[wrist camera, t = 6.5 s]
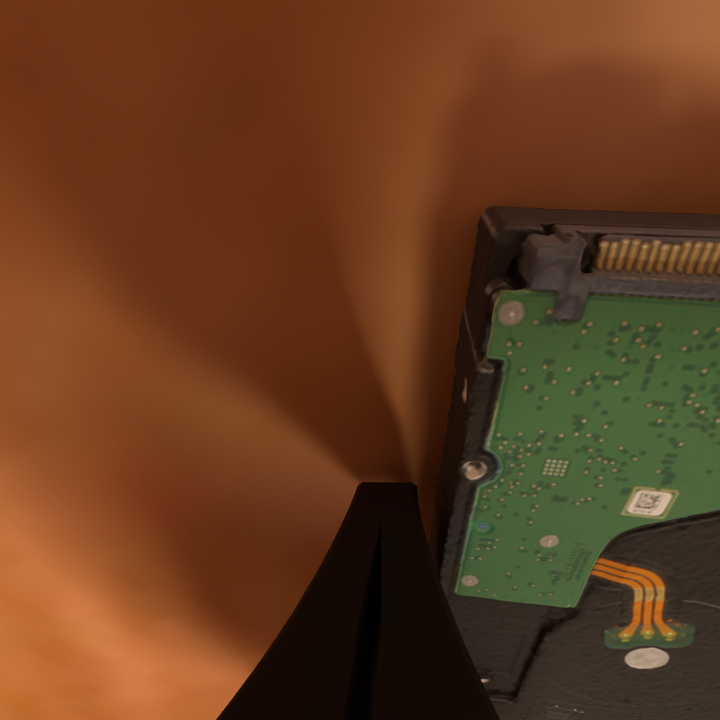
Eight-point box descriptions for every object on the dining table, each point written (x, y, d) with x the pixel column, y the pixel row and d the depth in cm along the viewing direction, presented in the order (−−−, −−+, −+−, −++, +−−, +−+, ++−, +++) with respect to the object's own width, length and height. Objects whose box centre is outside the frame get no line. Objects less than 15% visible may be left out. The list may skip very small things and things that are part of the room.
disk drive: (717, 663, 14) (1131, 211, 7) (778, 775, 12) (1544, 269, 4) (412, 628, 15) (463, 199, 8) (411, 724, 13) (486, 240, 5)
